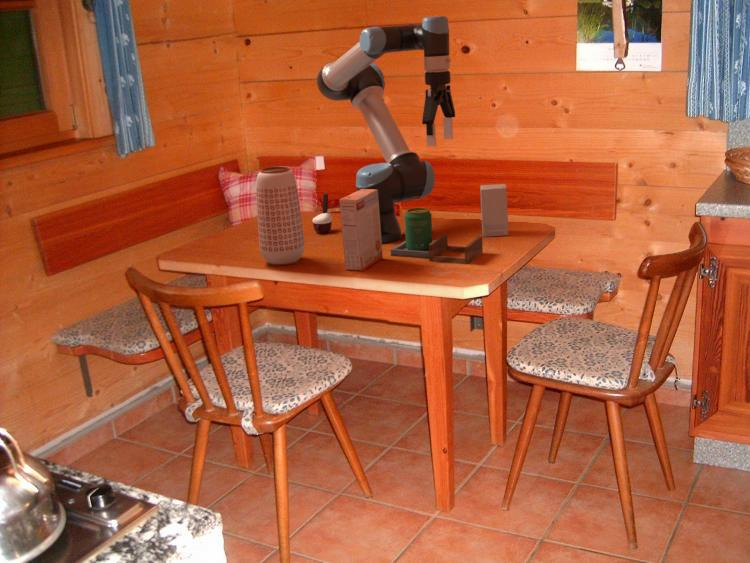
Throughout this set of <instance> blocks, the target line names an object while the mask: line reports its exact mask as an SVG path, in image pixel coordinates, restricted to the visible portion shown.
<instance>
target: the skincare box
mask: <svg viewBox="0 0 750 563" xmlns="http://www.w3.org/2000/svg"><path fill="white" fill-rule="evenodd" d="M479 188H480V209H481V210H480V211H481V228H482V230H481V231H482V238H486V236H487V237H500V236H501V237H502V236H504V237H505V236H508V235H509V218H508V213H509V212H508V188H507V185H506V183H498V184H497V183H496V184H481V185H480V187H479Z"/></svg>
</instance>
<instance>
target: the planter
mask: <svg viewBox="0 0 750 563" xmlns="http://www.w3.org/2000/svg"><path fill="white" fill-rule="evenodd" d="M255 183H256V184H255V185H256V187H255V189H256V192H255V194H256V196H255V197H256V219H257V230H258V241H259V242H258V243H259V250H260V254H261V255H262V256H261V257H263V259H264V260H265V261H266V262H268V263H269V265H270V266H277V267H282V266H283V267H284V266H290V265H294V264H297V263H298V262H299V260H300V259H301V258H302V255H303V254H304V251H305V244H306V243H305V236H304V227H303V218H302V210H301V205H300V203H301V202H300V198H299V196H300V195H299V191H298V187H297V186H298V185H297V181H296V177H295V174H294V172H293V171H292V169H290V168H289V167H288V166H284V165H283V166H282V165H280V166H279V165H277V166H268V167H264V168H261V169H260V171H259V172H258V173H257V176H256V181H255Z"/></svg>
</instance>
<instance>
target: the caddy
mask: <svg viewBox="0 0 750 563" xmlns="http://www.w3.org/2000/svg"><path fill="white" fill-rule="evenodd" d="M448 241H449V240H448V233H444V234H443V235H441V236H439V237H438V238H436V239H435V240H434V241H433V242H432V243H430V244H429V258H428V260H429V262H435V263H449V264H451V263H452V264H462V265H469V264H470V263H472V262H473V261H475V259H476V258H478V257H480V255H483V253H484V252H483V235H482V236H480V235H479V236H477V237H475V239H473V240H472V241H471V242H469V243H468V244H467V245H465V246H459V245H458V246H457V245H449V244H448V243H449V242H448ZM447 252H450V253H451V252H452V253H464V257H463V256H462V257H460V256H458V257H457V256H445V255H443V254H445V253H447Z"/></svg>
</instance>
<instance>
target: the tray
mask: <svg viewBox="0 0 750 563" xmlns="http://www.w3.org/2000/svg"><path fill="white" fill-rule="evenodd" d="M433 241H435V240H433V239H432V242H433ZM390 256H392V257H404V258H405V257H406V258H418V259H419V258H420V259H429V251H414V250H408V249H407V247H406V240H404V241H402V242H401V243H399V244H398V245H396V246H395V247H393V248H392V249H390Z"/></svg>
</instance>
